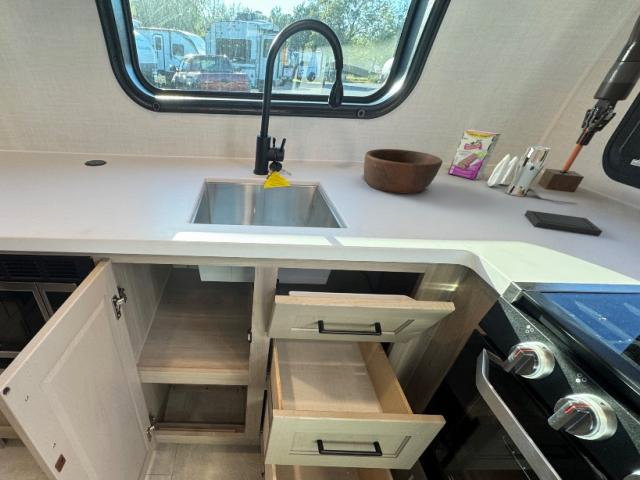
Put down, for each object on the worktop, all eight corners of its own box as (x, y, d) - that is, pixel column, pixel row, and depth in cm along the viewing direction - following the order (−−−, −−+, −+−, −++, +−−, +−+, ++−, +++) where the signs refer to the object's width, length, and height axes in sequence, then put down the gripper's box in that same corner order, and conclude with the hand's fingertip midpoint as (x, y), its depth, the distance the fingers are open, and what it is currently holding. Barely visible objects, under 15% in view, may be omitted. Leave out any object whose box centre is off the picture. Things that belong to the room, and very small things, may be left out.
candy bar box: (446, 174, 132) (464, 130, 122) (452, 172, 134) (470, 129, 124) (474, 180, 124) (495, 134, 114) (480, 179, 126) (501, 133, 117)
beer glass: (503, 189, 115) (526, 144, 106) (527, 193, 112) (552, 147, 103) (503, 194, 111) (527, 147, 102) (527, 198, 107) (554, 150, 98)
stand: (561, 191, 115) (574, 171, 111) (570, 197, 109) (584, 176, 105) (535, 188, 118) (546, 168, 113) (542, 194, 111) (554, 173, 107)
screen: (580, 220, 89) (581, 218, 89) (592, 230, 83) (593, 228, 83) (532, 214, 92) (534, 212, 92) (541, 223, 87) (542, 221, 86)
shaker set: (493, 189, 115) (509, 156, 109) (482, 186, 118) (496, 154, 112) (510, 185, 120) (527, 153, 114) (499, 182, 123) (514, 151, 117)
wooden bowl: (411, 176, 127) (420, 149, 120) (445, 197, 106) (458, 165, 100) (350, 176, 126) (356, 148, 120) (373, 196, 106) (382, 164, 99)
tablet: (582, 223, 90) (586, 218, 89) (598, 236, 82) (602, 231, 82) (524, 214, 94) (527, 210, 93) (534, 227, 87) (537, 221, 86)
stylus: (565, 172, 110) (592, 127, 101) (567, 173, 108) (595, 128, 100) (559, 172, 110) (586, 127, 102) (561, 173, 109) (588, 127, 101)
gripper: (649, 81, 87) (605, 149, 98) (624, 81, 98) (586, 142, 108) (615, 80, 90) (575, 147, 100) (593, 80, 100) (559, 140, 110)
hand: (581, 144), depth 104 cm, fingers closed on stylus, 1 cm apart
